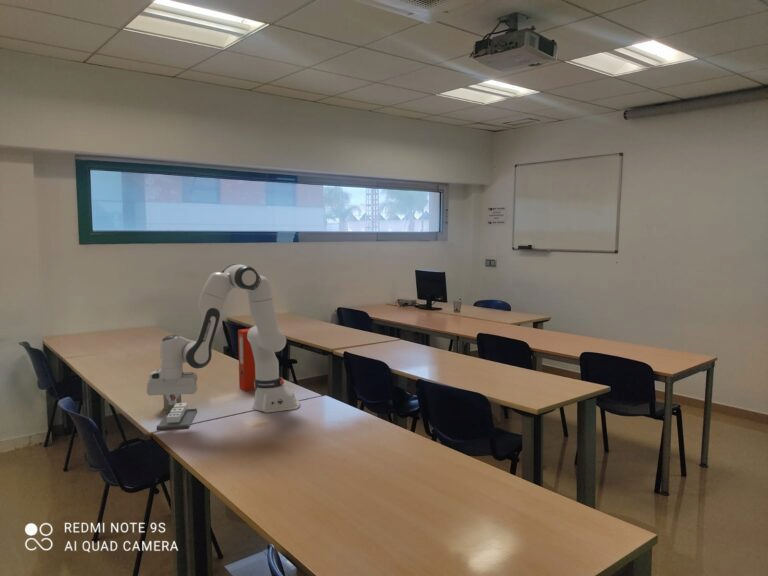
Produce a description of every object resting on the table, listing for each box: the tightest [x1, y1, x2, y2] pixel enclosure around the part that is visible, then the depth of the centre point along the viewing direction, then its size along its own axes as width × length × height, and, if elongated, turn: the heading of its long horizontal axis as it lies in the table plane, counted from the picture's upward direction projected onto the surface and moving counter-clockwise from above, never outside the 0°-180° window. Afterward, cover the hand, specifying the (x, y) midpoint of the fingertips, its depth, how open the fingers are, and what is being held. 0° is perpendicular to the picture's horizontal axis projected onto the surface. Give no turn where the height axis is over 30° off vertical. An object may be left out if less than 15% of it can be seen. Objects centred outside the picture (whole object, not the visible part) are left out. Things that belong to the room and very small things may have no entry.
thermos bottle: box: [162, 394, 182, 411], centre depth 255 cm, size 8×8×28 cm
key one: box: [174, 402, 188, 411], centre depth 246 cm, size 5×5×2 cm
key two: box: [170, 408, 185, 416], centre depth 239 cm, size 5×5×2 cm
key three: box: [167, 413, 181, 423], centre depth 232 cm, size 5×5×2 cm
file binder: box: [237, 328, 256, 392], centre depth 290 cm, size 8×17×32 cm, turn 126°
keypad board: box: [156, 407, 198, 431], centre depth 239 cm, size 13×21×2 cm, turn 10°
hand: (172, 404), depth 231 cm, fingers closed
